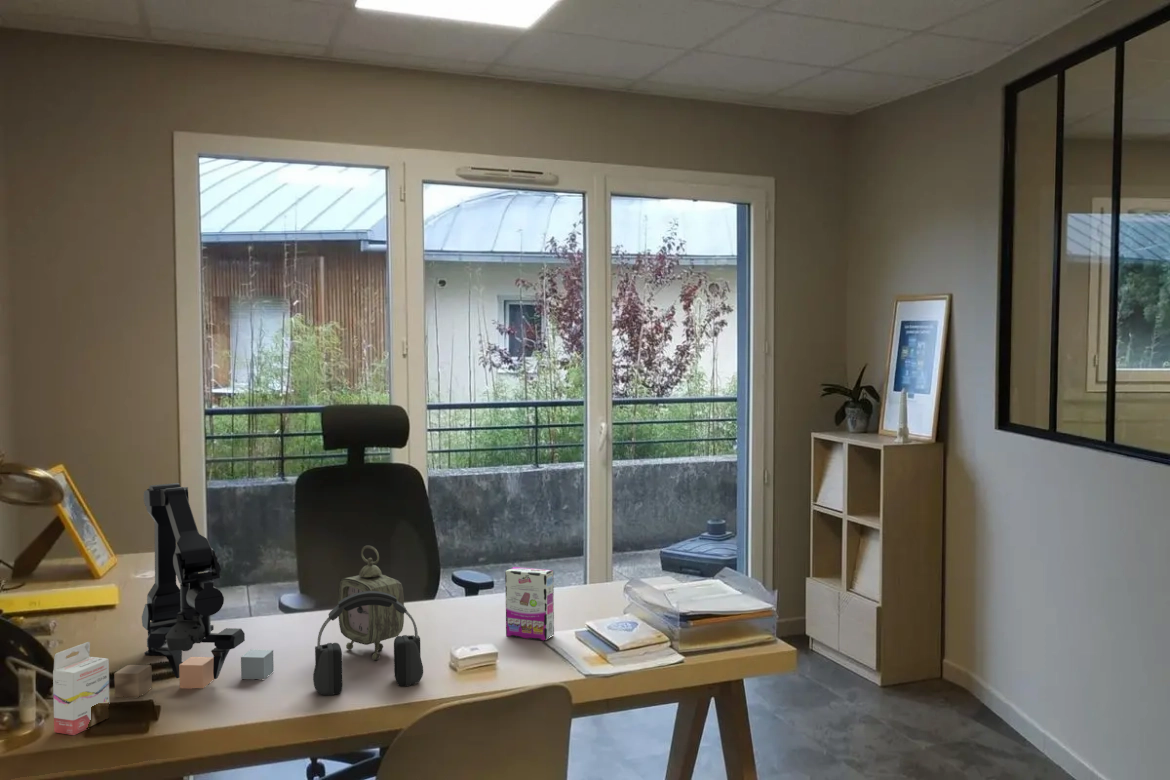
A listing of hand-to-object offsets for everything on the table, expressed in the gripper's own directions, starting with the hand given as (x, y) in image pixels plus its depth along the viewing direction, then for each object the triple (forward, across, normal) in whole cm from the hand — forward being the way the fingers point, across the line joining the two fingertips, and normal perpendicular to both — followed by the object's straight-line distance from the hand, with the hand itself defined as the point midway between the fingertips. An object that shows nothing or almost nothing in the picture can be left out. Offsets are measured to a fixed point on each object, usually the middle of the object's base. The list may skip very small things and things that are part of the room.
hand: (197, 678), depth 193 cm
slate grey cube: (+1, +11, +6) cm, 12 cm away
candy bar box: (+2, +66, +36) cm, 75 cm away
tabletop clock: (+2, +31, +22) cm, 38 cm away
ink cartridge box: (+2, -11, -22) cm, 25 cm away
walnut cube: (+1, -11, -6) cm, 12 cm away
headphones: (+2, +37, +1) cm, 37 cm away
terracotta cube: (+1, 0, 0) cm, 1 cm away
